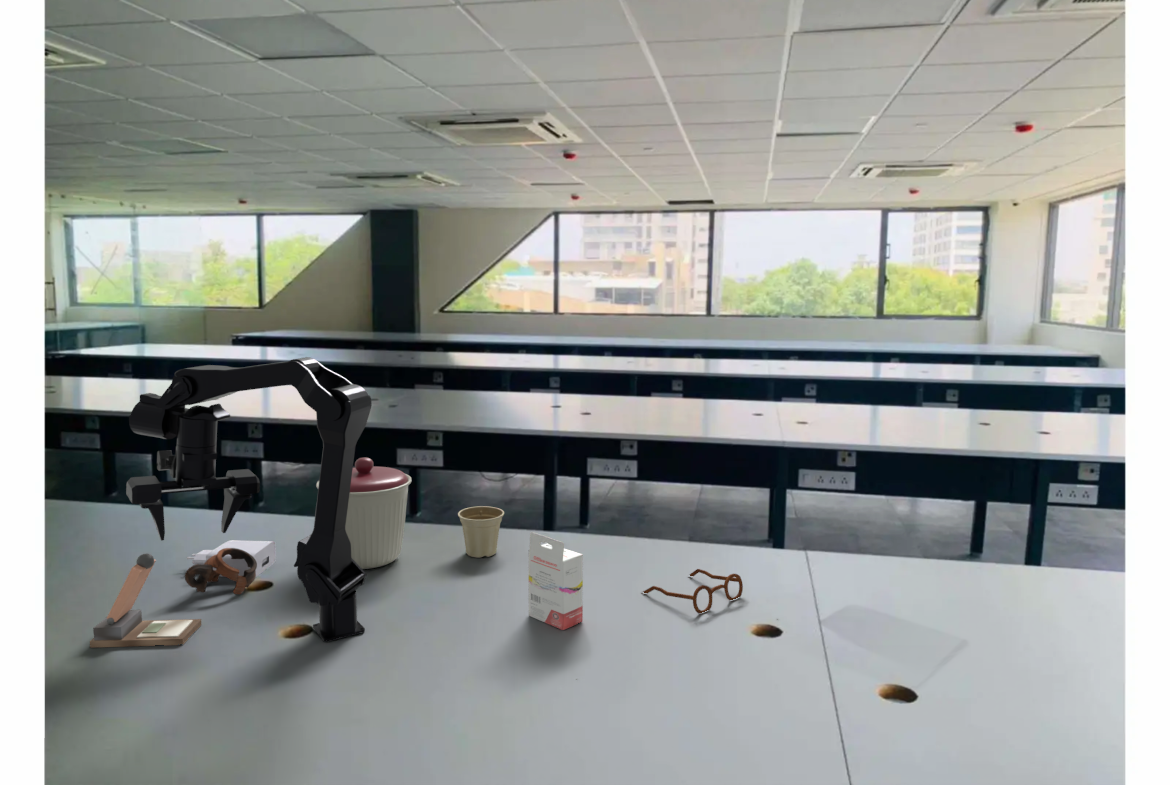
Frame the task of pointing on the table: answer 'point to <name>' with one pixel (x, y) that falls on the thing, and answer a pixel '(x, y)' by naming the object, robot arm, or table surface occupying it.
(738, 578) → the glasses
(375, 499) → the canister
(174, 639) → the switch unit
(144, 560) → the toggle lever
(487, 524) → the flower pot
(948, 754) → the table surface
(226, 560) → the charger
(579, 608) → the ink cartridge box
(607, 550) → the table surface
